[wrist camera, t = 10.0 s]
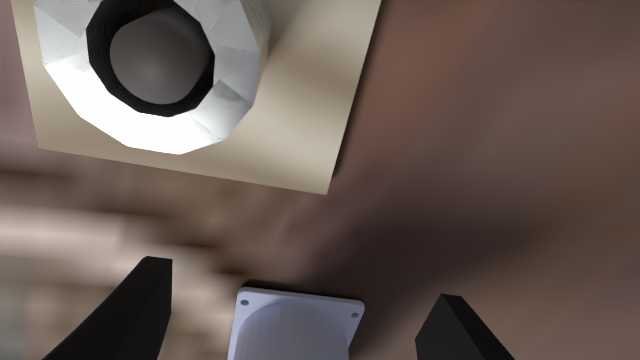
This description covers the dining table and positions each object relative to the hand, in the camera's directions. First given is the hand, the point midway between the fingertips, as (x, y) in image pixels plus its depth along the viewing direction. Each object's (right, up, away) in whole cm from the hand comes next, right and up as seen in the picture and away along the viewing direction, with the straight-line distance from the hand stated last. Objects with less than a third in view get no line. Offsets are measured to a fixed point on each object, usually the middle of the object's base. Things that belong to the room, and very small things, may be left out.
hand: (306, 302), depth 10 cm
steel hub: (-4, +9, +4) cm, 11 cm away
